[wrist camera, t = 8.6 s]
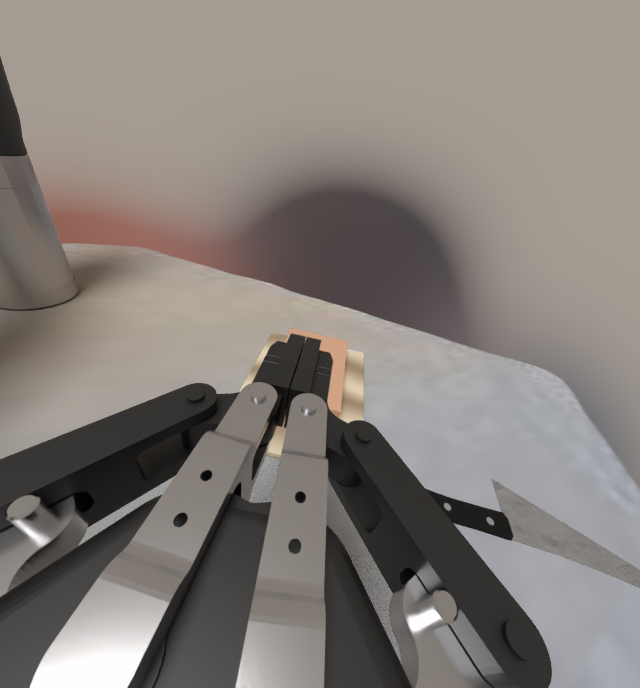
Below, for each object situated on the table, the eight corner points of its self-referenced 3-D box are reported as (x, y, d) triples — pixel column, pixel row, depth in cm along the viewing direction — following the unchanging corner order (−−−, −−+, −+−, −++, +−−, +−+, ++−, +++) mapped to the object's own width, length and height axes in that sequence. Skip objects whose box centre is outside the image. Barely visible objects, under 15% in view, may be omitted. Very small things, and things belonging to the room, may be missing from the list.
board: (361, 478, 24) (363, 474, 24) (213, 443, 24) (212, 439, 24) (362, 356, 40) (363, 353, 39) (272, 335, 40) (272, 332, 40)
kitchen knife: (387, 421, 31) (383, 510, 22) (388, 418, 30) (385, 507, 22) (660, 508, 28) (771, 648, 19) (664, 506, 27) (779, 646, 19)
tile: (340, 412, 26) (347, 340, 37) (261, 393, 26) (291, 328, 37) (335, 428, 27) (343, 355, 38) (260, 410, 27) (289, 342, 38)
